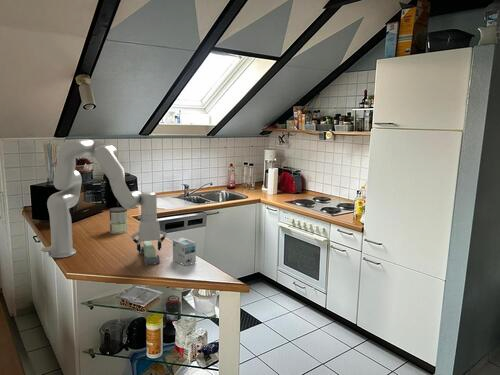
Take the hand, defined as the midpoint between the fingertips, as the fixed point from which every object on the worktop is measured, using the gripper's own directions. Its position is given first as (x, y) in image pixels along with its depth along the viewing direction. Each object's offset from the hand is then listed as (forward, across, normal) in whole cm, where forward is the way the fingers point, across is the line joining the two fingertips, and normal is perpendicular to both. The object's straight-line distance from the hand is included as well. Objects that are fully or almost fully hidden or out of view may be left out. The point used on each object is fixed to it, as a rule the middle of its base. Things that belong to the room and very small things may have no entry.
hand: (149, 250), depth 193 cm
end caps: (+4, 0, 0) cm, 4 cm away
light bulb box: (+4, +15, -11) cm, 19 cm away
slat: (+4, 0, 0) cm, 4 cm away
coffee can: (+4, -10, +53) cm, 54 cm away
